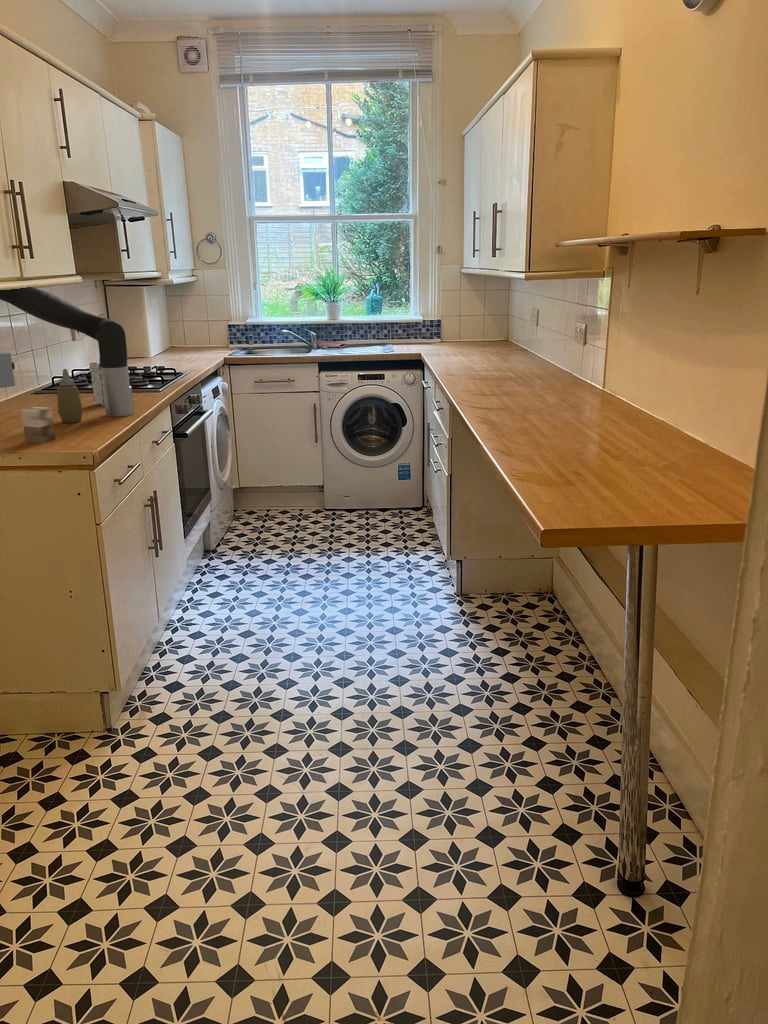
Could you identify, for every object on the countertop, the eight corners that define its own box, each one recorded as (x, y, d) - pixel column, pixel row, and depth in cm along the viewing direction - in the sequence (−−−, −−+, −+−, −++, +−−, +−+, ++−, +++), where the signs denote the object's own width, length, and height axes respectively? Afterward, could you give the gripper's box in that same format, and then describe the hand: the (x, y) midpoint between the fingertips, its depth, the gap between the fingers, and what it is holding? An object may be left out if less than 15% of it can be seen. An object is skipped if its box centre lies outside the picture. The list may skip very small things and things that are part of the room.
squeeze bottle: (55, 421, 267) (48, 369, 261) (78, 418, 272) (71, 367, 266) (65, 424, 261) (57, 371, 256) (88, 421, 267) (81, 369, 261)
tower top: (38, 422, 240) (36, 406, 239) (53, 423, 238) (51, 407, 237) (23, 426, 235) (20, 409, 233) (38, 427, 233) (35, 411, 231)
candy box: (122, 399, 309) (117, 358, 304) (132, 400, 306) (127, 358, 301) (93, 404, 298) (88, 361, 293) (104, 406, 295) (99, 362, 290)
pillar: (3, 384, 241) (-2, 352, 238) (15, 385, 239) (10, 353, 236) (-11, 387, 236) (-16, 354, 233) (2, 388, 235) (-3, 354, 232)
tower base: (40, 438, 242) (38, 422, 240) (55, 439, 240) (53, 423, 238) (25, 442, 237) (23, 426, 235) (40, 443, 234) (38, 427, 233)
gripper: (-57, 354, 233) (-15, 357, 227) (-18, 349, 246) (23, 352, 240) (-53, 379, 236) (-12, 382, 230) (-14, 373, 248) (26, 376, 242)
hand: (6, 367), depth 235 cm, fingers closed on pillar, 5 cm apart
